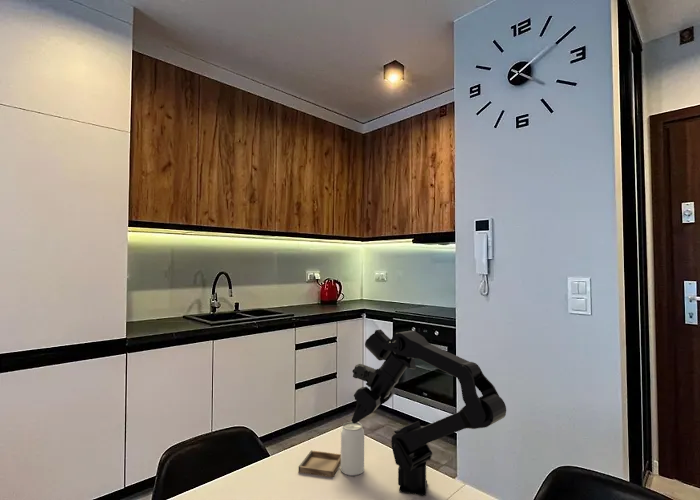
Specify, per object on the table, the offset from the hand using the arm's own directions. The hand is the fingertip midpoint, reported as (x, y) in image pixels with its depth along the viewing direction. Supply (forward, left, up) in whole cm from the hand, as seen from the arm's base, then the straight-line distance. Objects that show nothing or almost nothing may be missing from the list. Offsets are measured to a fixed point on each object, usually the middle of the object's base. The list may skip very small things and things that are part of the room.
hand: (358, 417), depth 104 cm
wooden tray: (+11, -1, -15) cm, 18 cm away
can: (+2, -1, -15) cm, 15 cm away
